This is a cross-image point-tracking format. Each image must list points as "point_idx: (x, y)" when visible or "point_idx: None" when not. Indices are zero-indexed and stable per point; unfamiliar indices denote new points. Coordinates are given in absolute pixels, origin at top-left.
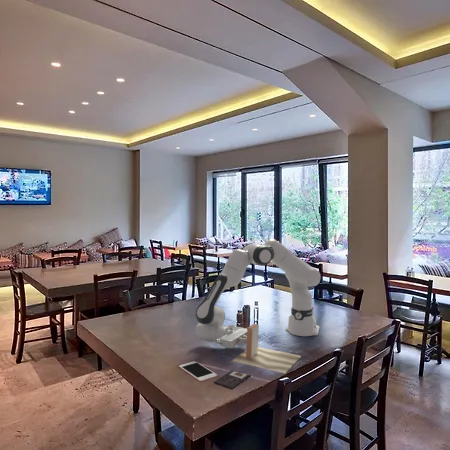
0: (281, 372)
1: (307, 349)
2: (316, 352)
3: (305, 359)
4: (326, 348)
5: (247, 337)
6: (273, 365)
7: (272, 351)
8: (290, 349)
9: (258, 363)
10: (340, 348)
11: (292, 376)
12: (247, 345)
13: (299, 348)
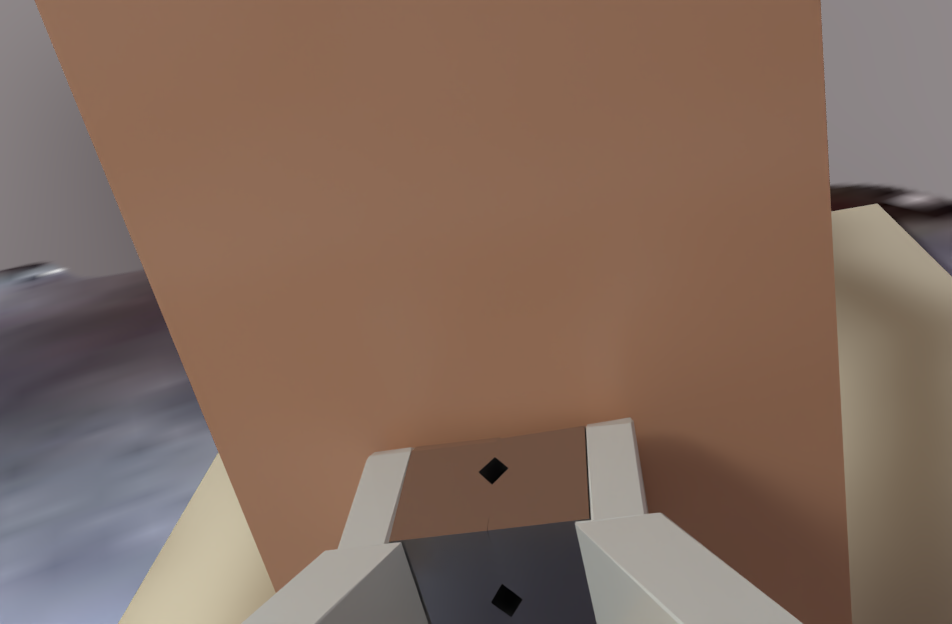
0: (893, 219)
1: (66, 359)
2: (150, 301)
3: None
4: (38, 300)
5: (823, 193)
6: None
7: (232, 534)
8: (67, 451)
9: (927, 449)
10: (41, 264)
11: (847, 190)
12: (830, 497)
13: (30, 408)
